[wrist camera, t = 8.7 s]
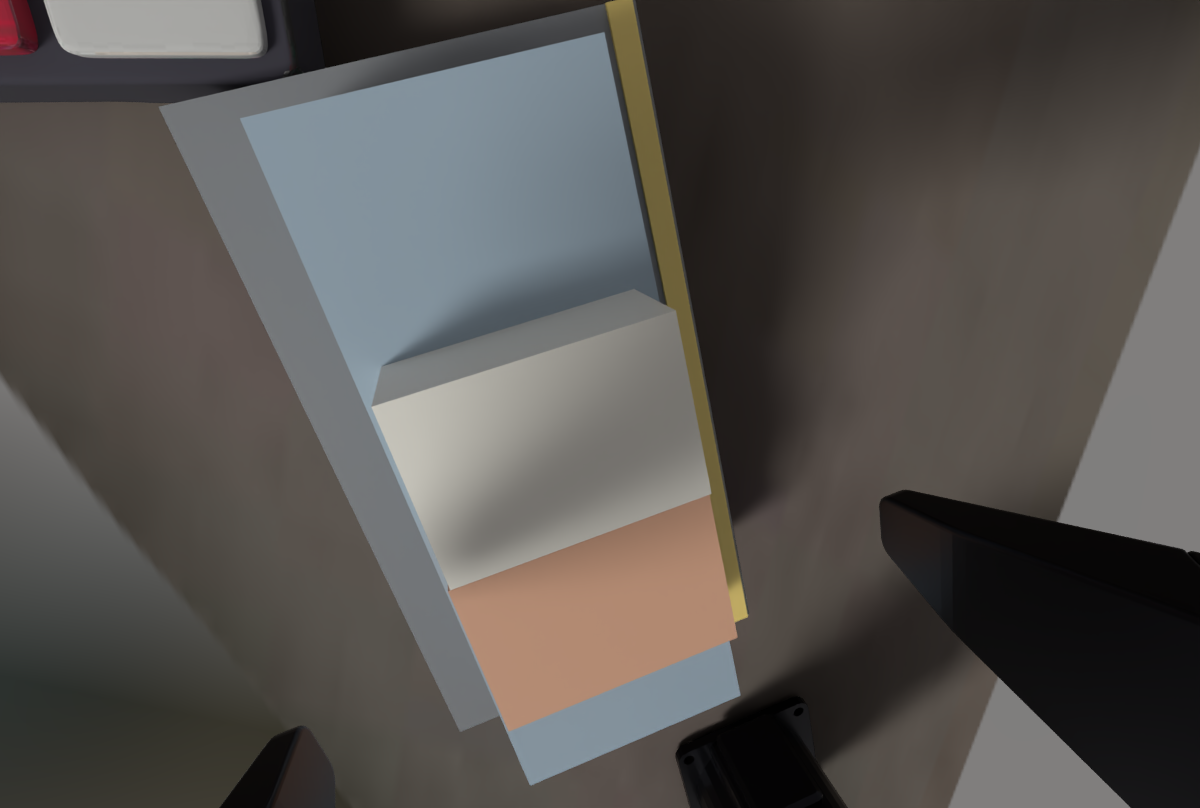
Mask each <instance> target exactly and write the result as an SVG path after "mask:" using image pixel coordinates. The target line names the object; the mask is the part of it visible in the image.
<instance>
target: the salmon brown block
mask: <svg viewBox="0 0 1200 808" xmlns="http://www.w3.org/2000/svg"><path fill="white" fill-rule="evenodd" d="M448 593H449V595H450V597H451V600H452V602H453V604H454V607H455V609H456V611H457V614H458V616H459V618H460V621H461V623H462V625H463V627H464V630H465V632H466V634H467V637H468V639H469V641H470V644H471V646H472V648H473V651H474V653H475V655H476V657H477V660H478V662H479V664H480V667H481V669H482V671H483V674H484V676H485V678H486V681H487V683H488V685H489V687H490V690H491V692H492V694H493V697H494V699H495V701H496V704H497V706H498V708H499V711H500V713H501V715H502V717H503V720H504V722H505V724H506V727H507V729H508V731H512V730H514V729H517V728H519V727H521V726H524V725H526V724H529V723H531V722H534V721H536V720H538V719H541V718H543V717H546V716H548V715H551V714H553V713H555V712H558V711H560V710H563V709H565V708H568V707H570V706H572V705H575V704H577V703H580V702H582V701H585V700H587V699H589V698H592V697H594V696H597V695H599V694H602V693H604V692H606V691H609V690H611V689H614V688H616V687H618V686H621V685H623V684H626V683H628V682H631V681H633V680H635V679H638V678H640V677H643V676H645V675H648V674H650V673H652V672H655V671H657V670H660V669H662V668H665V667H667V666H669V665H672V664H674V663H677V662H679V661H682V660H684V659H686V658H689V657H691V656H694V655H696V654H699V653H701V652H703V651H706V650H708V649H711V648H713V647H716V646H718V645H720V644H723V643H725V642H728V641H730V640H733V639H735V638H737V632H736V627H735V622H734V617H733V612H732V607H731V601H730V596H729V591H728V586H727V581H726V576H725V571H724V566H723V561H722V556H721V551H720V546H719V541H718V535H717V530H716V525H715V520H714V515H713V510H712V505H711V500H710V495H707V496H704V497H702V498H699V499H696V500H694V501H691V502H688V503H685V504H683V505H680V506H677V507H675V508H672V509H669V510H666V511H664V512H661V513H658V514H656V515H653V516H650V517H648V518H645V519H642V520H639V521H637V522H634V523H631V524H629V525H626V526H623V527H621V528H618V529H615V530H612V531H610V532H607V533H604V534H602V535H599V536H596V537H594V538H591V539H588V540H585V541H583V542H580V543H577V544H575V545H572V546H569V547H566V548H564V549H561V550H558V551H556V552H553V553H550V554H548V555H545V556H542V557H539V558H537V559H534V560H531V561H529V562H526V563H523V564H521V565H518V566H515V567H512V568H510V569H507V570H504V571H502V572H499V573H496V574H493V575H491V576H488V577H485V578H483V579H480V580H477V581H475V582H472V583H469V584H466V585H464V586H461V587H458V588H456V589H453V590H450V588H449V586H448Z"/></svg>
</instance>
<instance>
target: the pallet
mask: <svg viewBox="0 0 1200 808" xmlns="http://www.w3.org/2000/svg"><path fill="white" fill-rule="evenodd" d="M240 120H241V122H242V125H243V127H244V129H245V132H246V134H247V136H248V139H249V141H250V143H251V145H252V148H253V150H254V152H255V155H256V157H257V159H258V162H259V164H260V166H261V168H262V171H263V173H264V175H265V178H266V180H267V182H268V184H269V187H270V189H271V191H272V194H273V196H274V198H275V201H276V203H277V205H278V207H279V210H280V212H281V214H282V217H283V219H284V221H285V224H286V226H287V228H288V230H289V233H290V235H291V237H292V240H293V242H294V244H295V246H296V249H297V251H298V253H299V256H300V258H301V260H302V263H303V265H304V267H305V269H306V272H307V274H308V276H309V279H310V281H311V283H312V286H313V288H314V290H315V292H316V295H317V297H318V299H319V302H320V304H321V306H322V308H323V311H324V313H325V315H326V318H327V320H328V322H329V325H330V327H331V329H332V331H333V334H334V336H335V338H336V341H337V343H338V345H339V348H340V350H341V352H342V354H343V357H344V359H345V361H346V364H347V366H348V368H349V371H350V373H351V375H352V377H353V380H354V382H355V384H356V387H357V389H358V391H359V393H360V396H361V398H362V400H363V403H364V405H365V407H366V410H367V412H368V414H369V416H370V419H371V421H372V423H373V426H374V428H375V430H376V433H377V435H378V437H379V439H380V442H381V444H382V446H383V449H384V451H385V453H386V455H387V458H388V460H389V462H390V465H391V467H392V469H393V472H394V474H395V476H396V478H397V481H398V483H399V485H400V488H401V490H402V492H403V495H404V497H405V499H406V501H407V504H408V506H409V508H410V511H411V513H412V515H413V517H414V520H415V522H416V524H417V527H418V529H419V531H420V534H421V536H422V538H423V540H424V543H425V545H426V547H427V550H428V552H429V554H430V557H431V559H432V561H433V563H434V566H435V568H436V570H437V573H438V575H439V577H440V580H441V582H442V584H443V586H444V589H445V591H446V593H447V596H448V598H449V600H450V602H451V605H452V607H453V609H454V612H455V614H456V616H457V619H458V621H459V623H460V625H461V628H462V630H463V632H464V635H465V637H466V639H467V642H468V644H469V646H470V648H471V651H472V653H473V655H474V658H475V660H476V662H477V664H478V667H479V669H480V671H481V674H482V676H483V678H484V681H485V683H486V685H487V687H488V690H489V692H490V694H491V697H492V699H493V701H494V704H495V706H496V708H497V710H498V713H499V715H500V717H501V720H502V722H503V724H504V726H505V729H506V731H507V733H508V736H509V738H510V740H511V743H512V745H513V747H514V749H515V752H516V754H517V756H518V759H519V761H520V763H521V766H522V768H523V770H524V772H525V775H526V777H527V779H528V782H529V784H530V786H531V785H533V784H535V783H538V782H540V781H542V780H545V779H547V778H549V777H552V776H554V775H556V774H559V773H561V772H563V771H566V770H568V769H570V768H573V767H575V766H577V765H580V764H582V763H584V762H587V761H589V760H591V759H594V758H596V757H598V756H601V755H603V754H605V753H608V752H610V751H612V750H615V749H617V748H619V747H622V746H624V745H626V744H629V743H631V742H633V741H636V740H638V739H640V738H643V737H645V736H647V735H650V734H652V733H654V732H657V731H659V730H661V729H664V728H666V727H668V726H671V725H673V724H675V723H678V722H680V721H682V720H685V719H687V718H689V717H692V716H694V715H696V714H699V713H701V712H703V711H706V710H708V709H710V708H713V707H715V706H717V705H720V704H722V703H724V702H727V701H729V700H731V699H734V698H736V697H738V696H741V695H740V691H739V686H738V681H737V676H736V671H735V666H734V661H733V657H732V652H731V647H730V642H729V641H728V642H725V643H723V644H720V645H718V646H716V647H713V648H711V649H708V650H706V651H703V652H701V653H699V654H696V655H694V656H691V657H689V658H686V659H684V660H682V661H679V662H677V663H674V664H672V665H669V666H667V667H665V668H662V669H660V670H657V671H655V672H652V673H650V674H648V675H645V676H643V677H640V678H638V679H635V680H633V681H631V682H628V683H626V684H623V685H621V686H618V687H616V688H614V689H611V690H609V691H606V692H604V693H602V694H599V695H597V696H594V697H592V698H589V699H587V700H585V701H582V702H580V703H577V704H575V705H572V706H570V707H568V708H565V709H563V710H560V711H558V712H555V713H553V714H551V715H548V716H546V717H543V718H541V719H538V720H536V721H534V722H531V723H529V724H526V725H524V726H521V727H519V728H517V729H514V730H512V731H508V729H507V727H506V724H505V722H504V720H503V717H502V715H501V713H500V711H499V708H498V706H497V704H496V701H495V699H494V697H493V694H492V692H491V690H490V687H489V685H488V683H487V681H486V678H485V676H484V674H483V671H482V669H481V667H480V664H479V662H478V660H477V657H476V655H475V653H474V651H473V648H472V646H471V644H470V641H469V639H468V637H467V634H466V632H465V630H464V627H463V625H462V623H461V621H460V618H459V616H458V614H457V611H456V609H455V607H454V604H453V602H452V600H451V597H450V595H449V593H448V584H447V581H446V579H445V577H444V575H443V572H442V570H441V568H440V565H439V563H438V561H437V558H436V556H435V554H434V551H433V549H432V547H431V544H430V542H429V540H428V537H427V535H426V533H425V530H424V528H423V526H422V523H421V521H420V519H419V517H418V514H417V512H416V510H415V507H414V505H413V503H412V500H411V498H410V496H409V493H408V491H407V489H406V486H405V484H404V482H403V479H402V477H401V475H400V472H399V470H398V468H397V465H396V463H395V461H394V459H393V456H392V454H391V452H390V449H389V447H388V445H387V442H386V440H385V438H384V435H383V433H382V431H381V428H380V426H379V424H378V421H377V419H376V417H375V414H374V412H373V410H372V407H371V406H372V402H373V398H374V394H375V390H376V386H377V382H378V378H379V374H380V370H381V367H382V366H385V365H388V364H391V363H395V362H398V361H401V360H404V359H408V358H411V357H414V356H417V355H421V354H424V353H427V352H430V351H434V350H437V349H440V348H443V347H447V346H450V345H453V344H456V343H460V342H463V341H466V340H469V339H473V338H476V337H479V336H482V335H486V334H489V333H492V332H495V331H499V330H502V329H505V328H508V327H512V326H515V325H518V324H521V323H525V322H528V321H531V320H534V319H538V318H541V317H544V316H547V315H551V314H554V313H557V312H560V311H564V310H567V309H570V308H574V307H577V306H580V305H583V304H587V303H590V302H593V301H596V300H600V299H603V298H606V297H609V296H613V295H616V294H619V293H622V292H626V291H629V290H632V289H635V290H637V291H639V292H641V293H643V294H645V295H647V296H649V297H651V298H653V299H655V300H657V301H658V302H660V301H659V296H658V291H657V286H656V281H655V277H654V272H653V267H652V262H651V257H650V252H649V247H648V242H647V238H646V233H645V228H644V223H643V218H642V213H641V208H640V203H639V199H638V194H637V189H636V184H635V179H634V174H633V169H632V164H631V160H630V155H629V150H628V145H627V140H626V135H625V130H624V125H623V121H622V116H621V111H620V106H619V101H618V96H617V91H616V86H615V82H614V77H613V72H612V67H611V62H610V57H609V52H608V48H607V43H606V38H605V33H604V32H603V33H599V34H594V35H590V36H586V37H582V38H577V39H573V40H569V41H565V42H561V43H556V44H552V45H548V46H544V47H539V48H535V49H531V50H527V51H523V52H518V53H514V54H510V55H506V56H501V57H497V58H493V59H489V60H484V61H480V62H476V63H472V64H468V65H463V66H459V67H455V68H451V69H446V70H442V71H438V72H434V73H430V74H425V75H421V76H417V77H413V78H408V79H404V80H400V81H396V82H392V83H387V84H383V85H379V86H375V87H370V88H366V89H362V90H358V91H353V92H349V93H345V94H341V95H337V96H332V97H328V98H324V99H320V100H315V101H311V102H307V103H303V104H299V105H294V106H290V107H286V108H282V109H277V110H273V111H269V112H265V113H261V114H256V115H252V116H248V117H244V118H240Z"/></svg>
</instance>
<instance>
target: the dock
mask: <svg viewBox="0 0 1200 808" xmlns="http://www.w3.org/2000/svg"><path fill="white" fill-rule="evenodd" d="M603 32H604V33H605V38H606V43H607V48H608V52H609V57H610V62H611V67H612V72H613V77H614V82H615V86H616V91H617V96H618V101H619V106H620V111H621V116H622V121H623V125H624V130H625V135H626V140H627V145H628V150H629V155H630V160H631V164H632V169H633V174H634V179H635V184H636V189H637V194H638V199H639V203H640V208H641V213H642V218H643V223H644V228H645V233H646V238H647V242H648V247H649V252H650V257H651V262H652V267H653V272H654V277H655V281H656V286H657V291H658V296H659V301H660V303H662V304H664V305H666V306H668V307H670V308H672V309H674V310H676V314H677V319H678V324H679V330H680V335H681V340H682V345H683V350H684V355H685V360H686V365H687V370H688V376H689V381H690V386H691V391H692V396H693V401H694V406H695V411H696V417H697V422H698V427H699V432H700V437H701V442H702V447H703V452H704V457H705V463H706V468H707V473H708V478H709V483H710V488H711V493H712V494H710V500H711V505H712V510H713V515H714V520H715V525H716V530H717V535H718V541H719V546H720V551H721V556H722V561H723V566H724V571H725V576H726V581H727V586H728V591H729V596H730V601H731V607H732V612H733V617H734V622H737V621H739V620H741V619H744V618H746V617H748V614H749V610H748V605H747V599H746V594H745V589H744V583H743V578H742V572H741V567H740V562H739V556H738V551H737V545H736V540H735V535H734V529H733V524H732V518H731V513H730V508H729V502H728V497H727V491H726V486H725V481H724V475H723V470H722V464H721V459H720V454H719V448H718V443H717V438H716V432H715V427H714V421H713V416H712V411H711V405H710V400H709V394H708V389H707V384H706V378H705V373H704V367H703V362H702V357H701V351H700V346H699V340H698V335H697V330H696V324H695V319H694V313H693V308H692V303H691V297H690V292H689V286H688V281H687V276H686V270H685V265H684V259H683V254H682V249H681V243H680V238H679V232H678V227H677V222H676V216H675V211H674V206H673V200H672V195H671V189H670V184H669V179H668V173H667V168H666V162H665V157H664V152H663V146H662V141H661V135H660V130H659V125H658V119H657V114H656V108H655V103H654V98H653V92H652V87H651V81H650V76H649V71H648V65H647V60H646V54H645V49H644V44H643V38H642V33H641V27H640V22H639V17H638V11H637V6H636V1H635V0H615V1H611V2H606V3H605V4H602V5H597V6H593V7H589V8H584V9H580V10H576V11H571V12H567V13H563V14H558V15H554V16H550V17H545V18H541V19H537V20H532V21H528V22H524V23H519V24H515V25H511V26H506V27H502V28H498V29H493V30H489V31H485V32H481V33H476V34H472V35H468V36H463V37H459V38H455V39H450V40H446V41H442V42H437V43H433V44H429V45H424V46H420V47H416V48H411V49H407V50H403V51H398V52H394V53H390V54H385V55H381V56H377V57H372V58H368V59H364V60H359V61H355V62H351V63H346V64H342V65H338V66H333V67H329V68H325V69H320V70H316V71H312V72H307V73H303V74H299V75H294V76H290V77H286V78H281V79H277V80H273V81H268V82H264V83H260V84H255V85H251V86H247V87H242V88H238V89H234V90H230V91H225V92H221V93H217V94H212V95H208V96H204V97H199V98H195V99H191V100H186V101H182V102H178V103H173V104H169V105H165V106H160V107H159V109H160V111H161V113H162V115H163V117H164V119H165V121H166V123H167V126H168V128H169V130H170V132H171V134H172V136H173V138H174V140H175V142H176V144H177V146H178V148H179V150H180V153H181V155H182V157H183V159H184V161H185V163H186V165H187V167H188V169H189V171H190V173H191V175H192V177H193V179H194V182H195V184H196V186H197V188H198V190H199V192H200V194H201V196H202V198H203V200H204V202H205V204H206V206H207V208H208V211H209V213H210V215H211V217H212V219H213V221H214V223H215V225H216V227H217V229H218V231H219V233H220V235H221V237H222V240H223V242H224V244H225V246H226V248H227V250H228V252H229V254H230V256H231V258H232V260H233V262H234V264H235V266H236V269H237V271H238V273H239V275H240V277H241V279H242V281H243V283H244V285H245V287H246V289H247V291H248V293H249V295H250V298H251V300H252V302H253V304H254V306H255V308H256V310H257V312H258V314H259V316H260V318H261V320H262V322H263V324H264V327H265V329H266V331H267V333H268V335H269V337H270V339H271V341H272V343H273V345H274V347H275V349H276V351H277V353H278V356H279V358H280V360H281V362H282V364H283V366H284V368H285V370H286V372H287V374H288V376H289V378H290V380H291V383H292V385H293V387H294V389H295V391H296V393H297V395H298V397H299V399H300V401H301V403H302V405H303V407H304V409H305V412H306V414H307V416H308V418H309V420H310V422H311V424H312V426H313V428H314V430H315V432H316V434H317V436H318V438H319V441H320V443H321V445H322V447H323V449H324V451H325V453H326V455H327V457H328V459H329V461H330V463H331V465H332V467H333V470H334V472H335V474H336V476H337V478H338V480H339V482H340V484H341V486H342V488H343V490H344V492H345V494H346V496H347V499H348V501H349V503H350V505H351V507H352V509H353V511H354V513H355V515H356V517H357V519H358V521H359V523H360V525H361V528H362V530H363V532H364V534H365V536H366V538H367V540H368V542H369V544H370V546H371V548H372V550H373V552H374V554H375V557H376V559H377V561H378V563H379V565H380V567H381V569H382V571H383V573H384V575H385V577H386V579H387V581H388V584H389V586H390V588H391V590H392V592H393V594H394V596H395V598H396V600H397V602H398V604H399V606H400V608H401V610H402V613H403V615H404V617H405V619H406V621H407V623H408V625H409V627H410V629H411V631H412V633H413V635H414V637H415V639H416V642H417V644H418V646H419V648H420V650H421V652H422V654H423V656H424V658H425V660H426V662H427V664H428V666H429V668H430V671H431V673H432V675H433V677H434V679H435V681H436V683H437V685H438V687H439V689H440V691H441V693H442V695H443V697H444V700H445V702H446V704H447V706H448V708H449V710H450V712H451V714H452V716H453V718H454V720H455V722H456V724H457V726H458V729H459V731H460V732H461V731H464V730H466V729H468V728H471V727H473V726H476V725H478V724H481V723H483V722H486V721H488V720H490V719H493V718H495V717H498V716H500V715H499V713H498V710H497V708H496V706H495V704H494V701H493V699H492V697H491V694H490V692H489V690H488V687H487V685H486V683H485V681H484V678H483V676H482V674H481V671H480V669H479V667H478V664H477V662H476V660H475V658H474V655H473V653H472V651H471V648H470V646H469V644H468V642H467V639H466V637H465V635H464V632H463V630H462V628H461V625H460V623H459V621H458V619H457V616H456V614H455V612H454V609H453V607H452V605H451V602H450V600H449V598H448V596H447V593H446V591H445V589H444V586H443V584H442V582H441V580H440V577H439V575H438V573H437V570H436V568H435V566H434V563H433V561H432V559H431V557H430V554H429V552H428V550H427V547H426V545H425V543H424V540H423V538H422V536H421V534H420V531H419V529H418V527H417V524H416V522H415V520H414V517H413V515H412V513H411V511H410V508H409V506H408V504H407V501H406V499H405V497H404V495H403V492H402V490H401V488H400V485H399V483H398V481H397V478H396V476H395V474H394V472H393V469H392V467H391V465H390V462H389V460H388V458H387V455H386V453H385V451H384V449H383V446H382V444H381V442H380V439H379V437H378V435H377V433H376V430H375V428H374V426H373V423H372V421H371V419H370V416H369V414H368V412H367V410H366V407H365V405H364V403H363V400H362V398H361V396H360V393H359V391H358V389H357V387H356V384H355V382H354V380H353V377H352V375H351V373H350V371H349V368H348V366H347V364H346V361H345V359H344V357H343V354H342V352H341V350H340V348H339V345H338V343H337V341H336V338H335V336H334V334H333V331H332V329H331V327H330V325H329V322H328V320H327V318H326V315H325V313H324V311H323V308H322V306H321V304H320V302H319V299H318V297H317V295H316V292H315V290H314V288H313V286H312V283H311V281H310V279H309V276H308V274H307V272H306V269H305V267H304V265H303V263H302V260H301V258H300V256H299V253H298V251H297V249H296V246H295V244H294V242H293V240H292V237H291V235H290V233H289V230H288V228H287V226H286V224H285V221H284V219H283V217H282V214H281V212H280V210H279V207H278V205H277V203H276V201H275V198H274V196H273V194H272V191H271V189H270V187H269V184H268V182H267V180H266V178H265V175H264V173H263V171H262V168H261V166H260V164H259V162H258V159H257V157H256V155H255V152H254V150H253V148H252V145H251V143H250V141H249V139H248V136H247V134H246V132H245V129H244V127H243V125H242V122H241V120H240V118H244V117H248V116H252V115H256V114H261V113H265V112H269V111H273V110H277V109H282V108H286V107H290V106H294V105H299V104H303V103H307V102H311V101H315V100H320V99H324V98H328V97H332V96H337V95H341V94H345V93H349V92H353V91H358V90H362V89H366V88H370V87H375V86H379V85H383V84H387V83H392V82H396V81H400V80H404V79H408V78H413V77H417V76H421V75H425V74H430V73H434V72H438V71H442V70H446V69H451V68H455V67H459V66H463V65H468V64H472V63H476V62H480V61H484V60H489V59H493V58H497V57H501V56H506V55H510V54H514V53H518V52H523V51H527V50H531V49H535V48H539V47H544V46H548V45H552V44H556V43H561V42H565V41H569V40H573V39H577V38H582V37H586V36H590V35H594V34H599V33H603Z"/></svg>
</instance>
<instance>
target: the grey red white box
mask: <svg viewBox="0 0 1200 808" xmlns="http://www.w3.org/2000/svg"><path fill="white" fill-rule="evenodd" d="M320 69H325V62H324V56H323V50H322V44H321V38H320V32H319V26H318V21H317V15H316V9H315V3H314V0H0V102H107V101H118V102H147V103H178V102H182V101H186V100H191V99H195V98H199V97H204V96H208V95H212V94H217V93H221V92H225V91H230V90H234V89H238V88H242V87H247V86H251V85H255V84H260V83H264V82H268V81H273V80H277V79H281V78H286V77H290V76H294V75H299V74H303V73H307V72H312V71H316V70H320Z"/></svg>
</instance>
